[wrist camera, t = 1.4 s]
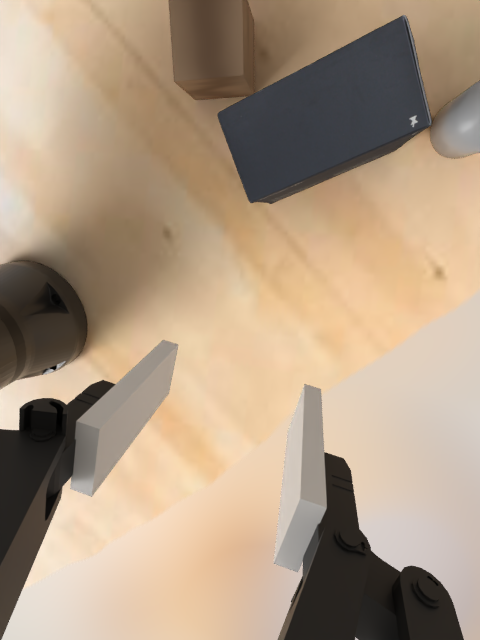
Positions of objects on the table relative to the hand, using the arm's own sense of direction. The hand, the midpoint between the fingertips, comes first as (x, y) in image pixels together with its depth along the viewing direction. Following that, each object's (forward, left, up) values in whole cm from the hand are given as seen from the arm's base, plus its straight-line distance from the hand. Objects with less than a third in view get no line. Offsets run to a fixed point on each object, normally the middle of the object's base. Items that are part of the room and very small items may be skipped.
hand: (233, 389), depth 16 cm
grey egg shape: (+12, +18, -25) cm, 33 cm away
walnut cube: (-11, +19, -25) cm, 33 cm away
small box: (0, +14, -25) cm, 29 cm away
